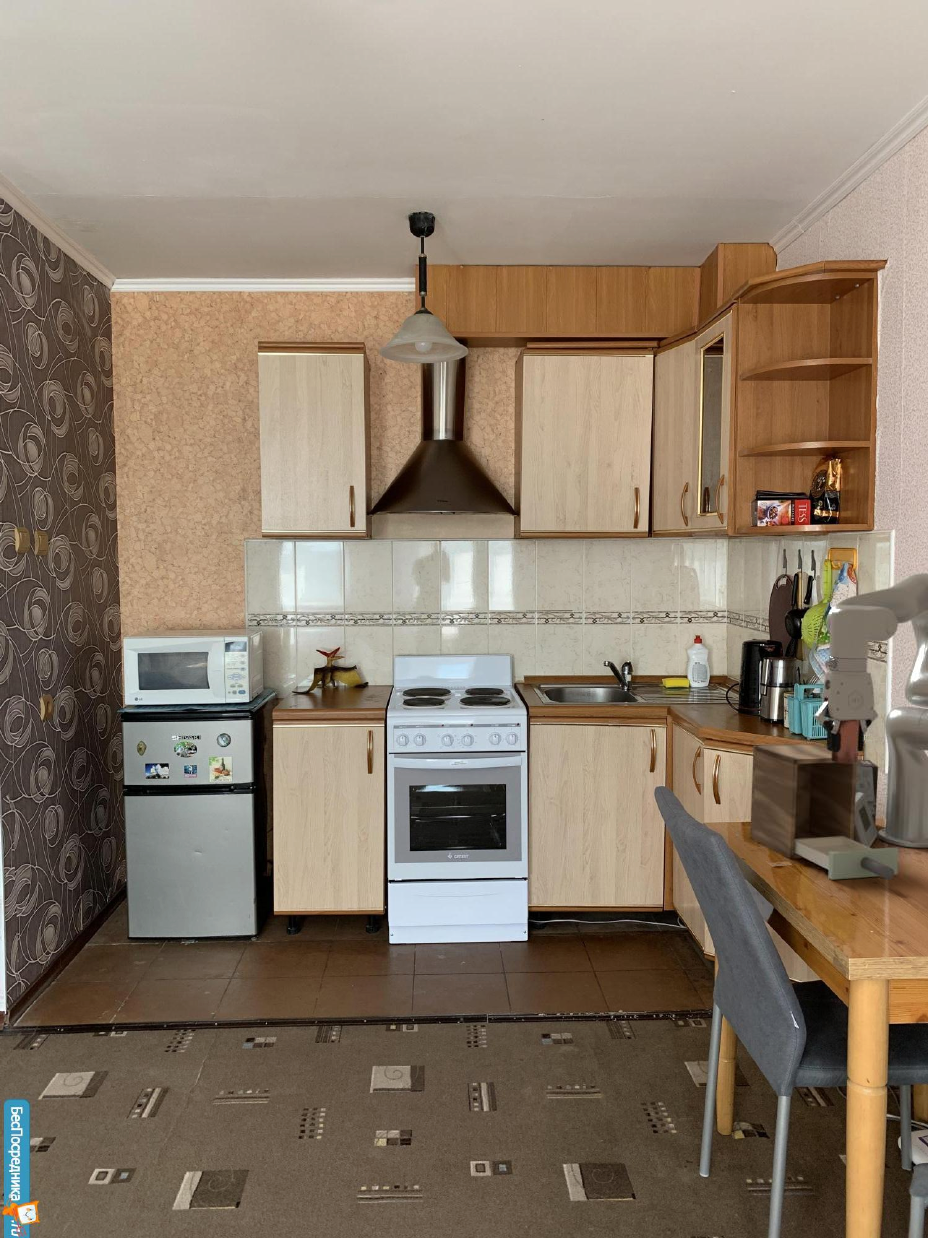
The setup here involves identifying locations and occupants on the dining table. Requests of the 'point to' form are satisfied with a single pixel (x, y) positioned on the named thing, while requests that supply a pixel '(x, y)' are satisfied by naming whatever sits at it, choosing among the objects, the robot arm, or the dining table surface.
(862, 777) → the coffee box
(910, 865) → the dining table surface
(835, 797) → the drawer cabinet
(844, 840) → the green drawer
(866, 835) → the digital clock
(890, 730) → the robot arm
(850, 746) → the tea tin
